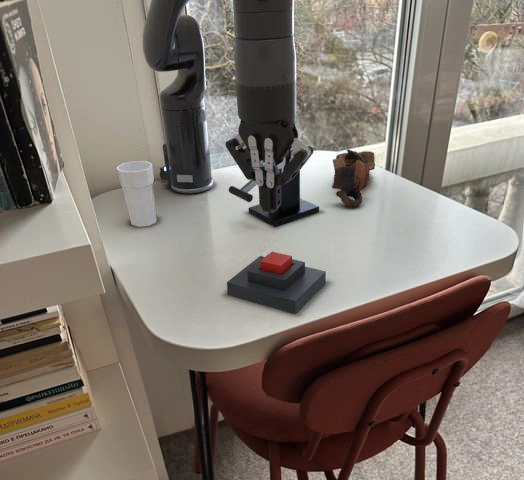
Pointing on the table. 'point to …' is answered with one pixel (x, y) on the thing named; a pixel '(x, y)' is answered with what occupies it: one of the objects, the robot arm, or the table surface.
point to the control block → (277, 285)
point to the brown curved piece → (368, 154)
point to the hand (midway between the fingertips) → (270, 210)
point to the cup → (138, 191)
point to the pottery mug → (351, 178)
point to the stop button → (276, 263)
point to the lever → (243, 191)
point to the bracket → (287, 203)
